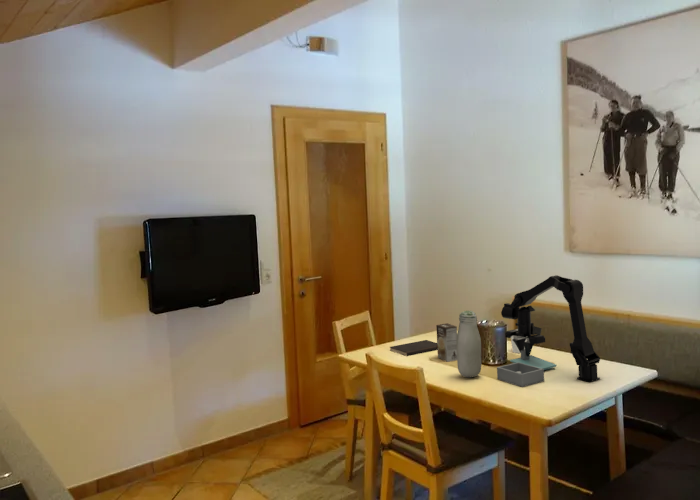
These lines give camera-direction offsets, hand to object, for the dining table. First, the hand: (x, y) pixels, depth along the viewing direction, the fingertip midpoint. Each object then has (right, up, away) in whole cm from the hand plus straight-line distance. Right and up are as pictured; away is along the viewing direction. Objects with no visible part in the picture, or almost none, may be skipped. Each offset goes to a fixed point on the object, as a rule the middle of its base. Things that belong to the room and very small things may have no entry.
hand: (525, 355), depth 267 cm
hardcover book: (-43, -5, +42) cm, 60 cm away
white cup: (+5, -3, +26) cm, 26 cm away
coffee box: (-31, -5, +20) cm, 37 cm away
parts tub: (-8, -6, -20) cm, 22 cm away
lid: (+2, -4, -3) cm, 6 cm away
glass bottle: (-27, -7, -11) cm, 30 cm away
